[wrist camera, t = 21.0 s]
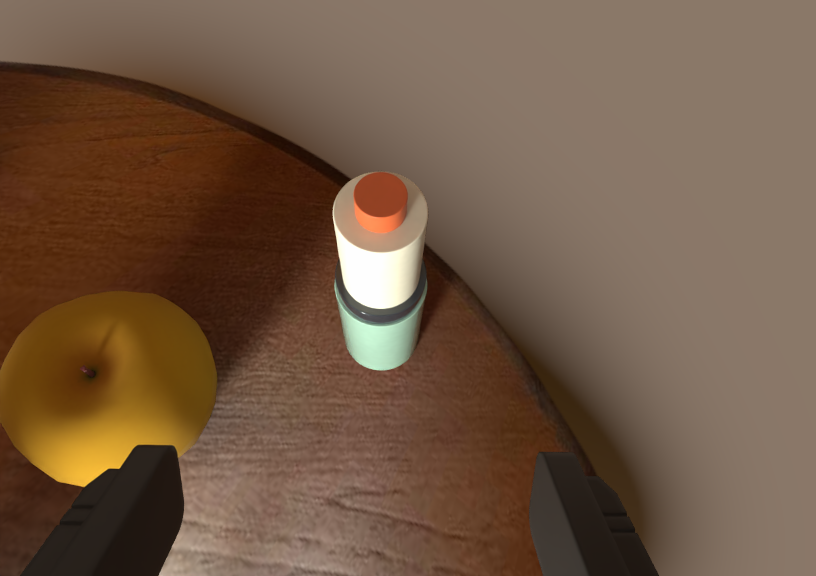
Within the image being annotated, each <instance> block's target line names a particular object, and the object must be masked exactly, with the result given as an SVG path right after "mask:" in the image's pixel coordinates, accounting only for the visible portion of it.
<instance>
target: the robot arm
mask: <svg viewBox="0 0 816 576" xmlns="http://www.w3.org/2000/svg"><path fill="white" fill-rule="evenodd" d="M183 513H184V497H183V490H182V483H181V476H180V469H179V462H178V455H177V450H176V448H175V446H173V445H137V446H135V447H134V448H133V450H132V451H131V453H130V454H129V455H128V457H127V458H126V460H125V461H124V463H123V464H122V466H121V467H120V469H112V468H108V469H107V470H106V471H104V472H103V473H102V474H100V475H99V476H98V477H96V478H95V479H94V480H92V481H91V482H90V483H89V484H87V485H86V486H85V488H84V489H83V490H82V492H81V493H80V494H79V496H78V497H77V498H76V500H75V501H74V503H73V504H72V508H71V509H68V511H67V512H66V514H65V515H64V516H63V518H62V519H61V520H60V524H59V525H57V526H56V527H55V529H54V530H53V531H52V533H51V534H50V535H49V537H48V538H47V540H46V541H45V542H44V544H43V545H42V546H41V548H40V549H39V550H38V552H37V553H36V555H35V556H34V557H33V559H32V560H31V561H30V563H29V564H28V565H27V567H26V568H25V570H24V571H23V572H22V574H21V575H20V576H158V575H159V573H160V571H161V569H162V567H163V564H164V562H165V560H166V558H167V556H168V554H169V551H170V549H171V547H172V545H173V543H174V541H175V538H176V536H177V534H178V532H179V530H180V527H181V523H182V519H183ZM529 519H530V529H531V534H532V538H533V541H534V545H535V548H536V552H537V555H538V559H539V562H540V566H541V569H542V573H543V576H659V575H658V573H657V571H656V569H655V567H654V565H653V563H652V561H651V559H650V557H649V555H648V553H647V551H646V549H645V548H644V546H643V544H642V542H641V540H640V538H639V536H638V534H637V533H635V528H634V526H633V524H632V522H631V520H630V518H629V517H627V513H626V511H625V509H624V507H623V505H622V503H621V501H620V499H619V497H618V495H617V493H616V492H615V491H614V490H612V489H611V488H610V487H609V486H608V485H607V484H606V483H605V482H604V481H603V480H602V479H601V478H600V477H598V476H585V475H584V472H583V470H582V468H581V466H580V464H579V462H578V459H577V457H576V455H575V454H574V453H572V452H539V453H538V455H537V459H536V466H535V472H534V479H533V486H532V493H531V500H530V508H529Z"/></svg>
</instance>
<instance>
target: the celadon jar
mask: <svg viewBox="0 0 816 576" xmlns="http://www.w3.org/2000/svg"><path fill="white" fill-rule="evenodd" d="M335 293H336V298H337V303H338V308H339V313H340V318H341V323H342V328H343V333H344V338H345V342H346V346H347V349H348V351H349V353H350V354H351V356H352V357H353V358H354V359H355V360H356V361H357V362H358V363H360V364H361V365H363V366H365V367H367V368H370V369H374V370H388V369H393V368H395V367H398V366H400V365H401V364H403V363H404V362H406V361H407V360H408V359H409V358H410V356H411V355H412V354H413V352H414V350H415V348H416V345H417V342H418V336H419V331H420V325H421V320H422V315H423V309H424V304H425V298H426V293H427V272H426V266H425V263H424V260H423V258H422V264H421V271H420V277H419V282H418V285H417V288H416V290H415V291H414V293H413V294H412V295H411V296H410V297H409V298H408V299H407V300H406V301H405V302H403V303H401V304H399V305H397V306H395V307H391V308H385V309H377V308H371V307H367V306H365V305H363V304H361V303H359V302H358V301H356V300H355V299H354V298H353V297H352V296H351V295H350V294H349V292H348V291H347V289H346V287H345V285H344V282H343V277H342V270H341V264H340V258H339V260H338V262H337V265H336V270H335Z"/></svg>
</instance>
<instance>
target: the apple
mask: <svg viewBox="0 0 816 576" xmlns="http://www.w3.org/2000/svg"><path fill="white" fill-rule="evenodd" d="M216 388H217V372H216V367H215V363H214V359H213V356H212V352H211V349H210V346H209V343H208V340H207V338H206V337H205V335H204V333H203V332H202V330H201V329H200V327H199V325H198V324H197V322H196V321H195V320H194V319H193V318H191V317H190V316H189V315H188V314H187V313H186V312H185V311H184V310H182V309H181V308H180V307H178V306H177V305H175V304H174V303H172V302H171V301H169V300H167V299H165V298H163V297H160V296H158V295H156V294H151V293H140V292H129V291H110V292H102V293H96V294H90V295H84V296H81V297H79V298H76V299H73V300H70V301H68V302H65V303H62V304H59V305H56V306H54V307H52V308H51V309H49V310H47V311H45V312H43V313H42V314H40V315H38V316H37V317H36V318H35V319H34V320H33V321H32V322H31V323H30V324H29V325H28V326H27V327H26V328H25V329H24V330H23V331H22V332H21V333H20V334H19V335H18V337H17V339H16V340H15V342H14V344H13V346H12V348H11V349H10V351H9V353H8V355H7V357H6V358H5V360H4V363H3V365H2V368H1V370H0V422H1V424H2V426H3V427H4V429H5V431H6V433H7V434H8V436H9V438H10V439H11V441H12V443H13V445H14V446H15V447H16V448H17V449H18V450H19V451H20V452H21V453H22V454H23V455H24V456H25V457H26V458H27V459H28V460H29V461H30V462H31V463H32V464H33V465H35V466H36V467H38V468H39V469H40V470H42V471H43V472H45V473H46V474H48V475H49V476H50V477H52V478H53V479H55V480H56V481H58V482H63V483H67V484H72V485H77V486H82V487H85V486H86V485H87V484H89V483H90V482H91V481H92V480H94V479H95V478H96V477H98V476H99V475H100V474H102V473H103V472H104V471H106V470H107V469H108V468H112V469H120V467H121V466H122V464H123V463H124V461H125V460H126V458H127V457H128V455H129V454H130V453H131V451H132V450H133V448H134V447H135V446H137V445H173V446H175V448H176V450H177V455H178V458H179V457H180V456H181V455H183V454H184V453H185V452H186V451H187V450H188V449H190V448H191V447H192V446H193V445H194V444H195V443H196V441H197V440H198V438H199V436H200V435H201V433H202V431H203V429H204V428H205V426H206V424H207V422H208V420H209V418H210V416H211V413H212V410H213V407H214V405H215V402H216Z"/></svg>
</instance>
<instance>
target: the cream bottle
mask: <svg viewBox="0 0 816 576" xmlns="http://www.w3.org/2000/svg"><path fill="white" fill-rule="evenodd" d="M333 220H334V227H335V233H336V239H337V245H338V252H339V258H340V264H341V270H342V277H343V282H344V285H345V287H346V289H347V291H348V292H349V294H350V295H351V296H352V297H353V298H354V299H355V300H356V301H358V302H359V303H361V304H363V305H365V306H367V307H371V308H377V309H385V308H391V307H395V306H397V305H399V304H401V303H403V302H405V301H406V300H407V299H408V298H409V297H410V296H411V295H412V294H413V293H414V291H415V290H416V288H417V285H418V282H419V277H420V271H421V264H422V257H423V250H424V243H425V236H426V229H427V222H428V205H427V202H426V199H425V197H424V195H423V193H422V192H421V190H420V189H419V188H418V187H417V186H416V185H415V184H414V183H413V182H412V181H410V180H409V179H407V178H405V177H403V176H401V175H399V174H395V173H392V172H385V171H377V172H369V173H365V174H362V175H360V176H357V177H356V178H354V179H352V180H351V181H349V182H348V183H347V184H346V185H345V186H344V187H343V188H342V189H341V190H340V192H339V193H338V195H337V197H336V199H335V202H334V206H333Z"/></svg>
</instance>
